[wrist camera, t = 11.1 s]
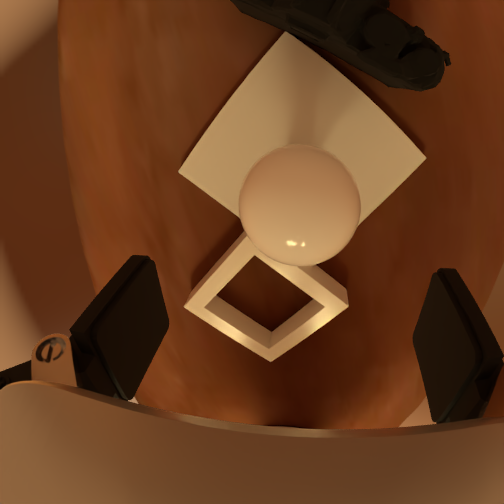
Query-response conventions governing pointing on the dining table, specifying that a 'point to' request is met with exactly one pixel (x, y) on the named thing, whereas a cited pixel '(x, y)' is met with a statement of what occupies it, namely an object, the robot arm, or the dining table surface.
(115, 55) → the dining table surface
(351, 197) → the lightbulb
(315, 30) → the film camera
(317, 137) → the felt mat
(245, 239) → the socket collar
